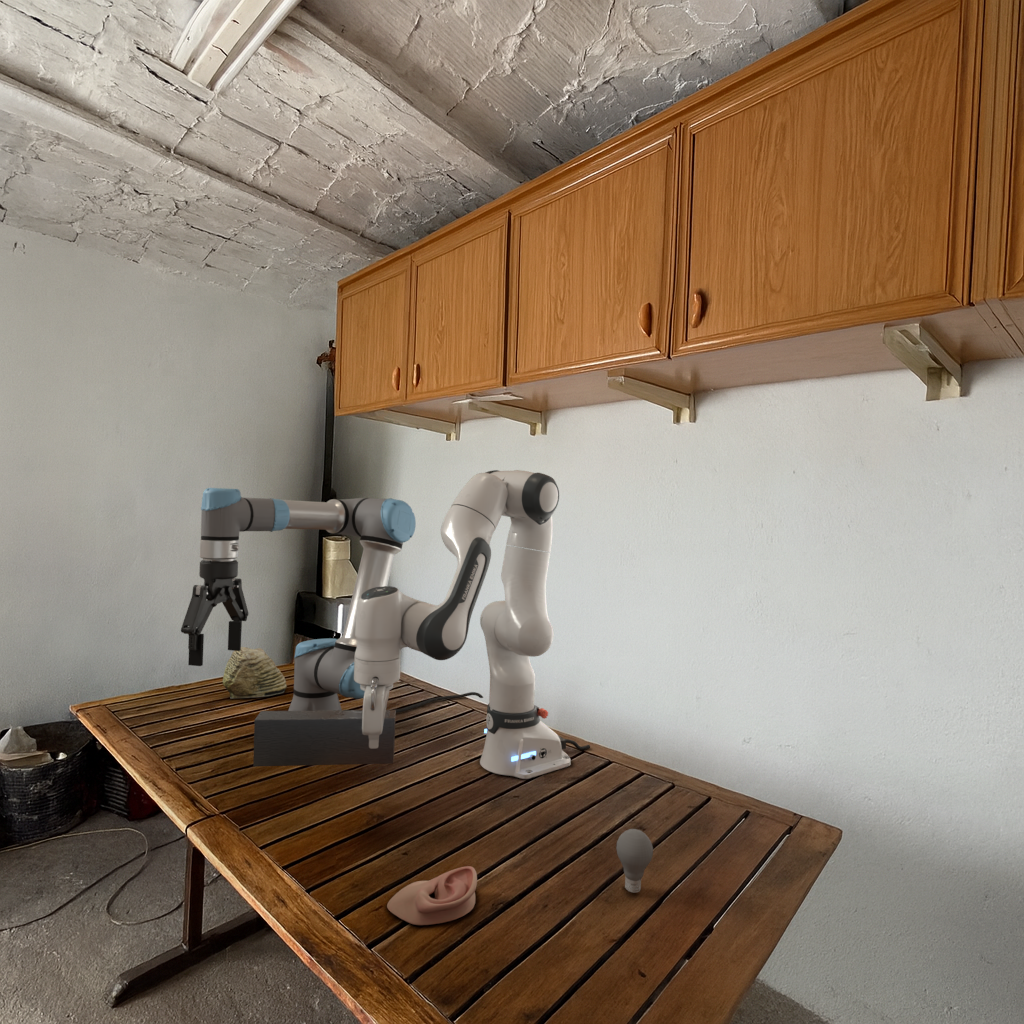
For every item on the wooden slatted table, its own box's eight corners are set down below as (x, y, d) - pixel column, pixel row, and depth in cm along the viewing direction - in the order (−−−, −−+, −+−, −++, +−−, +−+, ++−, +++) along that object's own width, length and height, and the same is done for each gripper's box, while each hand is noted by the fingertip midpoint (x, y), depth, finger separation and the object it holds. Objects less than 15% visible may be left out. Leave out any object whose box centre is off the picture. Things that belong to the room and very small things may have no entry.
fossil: (218, 695, 195) (220, 647, 195) (278, 685, 208) (279, 640, 207) (228, 703, 189) (230, 653, 188) (289, 692, 201) (290, 645, 201)
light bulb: (610, 879, 108) (613, 822, 108) (644, 879, 109) (647, 822, 109) (619, 902, 102) (622, 840, 102) (655, 901, 103) (658, 840, 103)
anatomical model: (379, 892, 96) (407, 852, 107) (378, 918, 96) (406, 875, 107) (464, 907, 93) (483, 864, 104) (463, 934, 93) (482, 888, 104)
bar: (253, 766, 119) (254, 719, 118) (259, 756, 123) (261, 711, 123) (393, 763, 122) (394, 718, 122) (394, 753, 127) (395, 709, 127)
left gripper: (198, 566, 124) (194, 674, 124) (266, 555, 148) (263, 645, 149) (163, 563, 125) (159, 670, 125) (236, 554, 149) (233, 643, 150)
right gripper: (390, 686, 114) (388, 762, 114) (395, 657, 134) (393, 722, 134) (355, 686, 113) (352, 763, 113) (365, 657, 133) (363, 722, 133)
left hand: (215, 657), depth 137 cm, fingers open, 13 cm apart
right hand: (375, 740), depth 124 cm, fingers closed on bar, 5 cm apart
